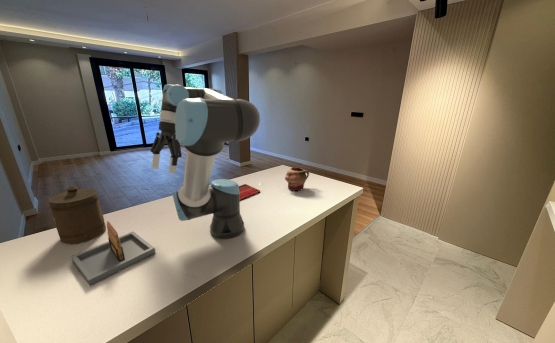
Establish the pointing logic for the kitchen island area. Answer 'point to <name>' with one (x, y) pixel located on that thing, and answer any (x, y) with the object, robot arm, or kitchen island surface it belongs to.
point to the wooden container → (77, 215)
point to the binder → (247, 191)
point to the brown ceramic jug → (296, 178)
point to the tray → (111, 258)
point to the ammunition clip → (115, 242)
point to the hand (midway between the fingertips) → (163, 170)
